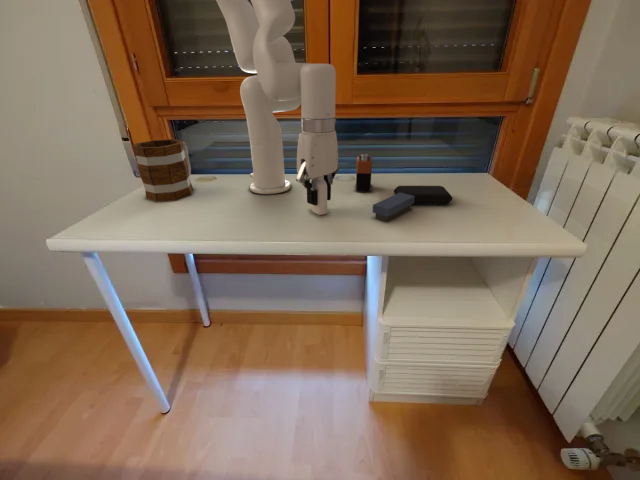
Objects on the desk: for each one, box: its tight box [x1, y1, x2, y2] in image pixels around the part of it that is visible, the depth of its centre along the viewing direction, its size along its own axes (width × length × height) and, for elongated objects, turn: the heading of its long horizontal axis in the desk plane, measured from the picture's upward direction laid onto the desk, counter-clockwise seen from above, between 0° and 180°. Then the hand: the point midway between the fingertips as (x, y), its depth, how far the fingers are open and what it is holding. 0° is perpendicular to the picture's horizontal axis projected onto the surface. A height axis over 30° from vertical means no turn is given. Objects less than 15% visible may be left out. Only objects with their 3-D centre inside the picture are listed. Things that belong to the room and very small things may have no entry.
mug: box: [131, 138, 194, 203], centre depth 96 cm, size 20×14×15 cm
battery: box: [355, 153, 373, 193], centre depth 96 cm, size 4×7×10 cm, turn 173°
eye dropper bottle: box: [310, 175, 328, 216], centre depth 79 cm, size 4×6×12 cm
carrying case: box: [393, 185, 454, 205], centre depth 89 cm, size 11×3×15 cm
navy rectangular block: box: [372, 193, 415, 223], centre depth 80 cm, size 12×4×4 cm, turn 136°
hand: (318, 200), depth 81 cm, fingers closed on eye dropper bottle, 4 cm apart
